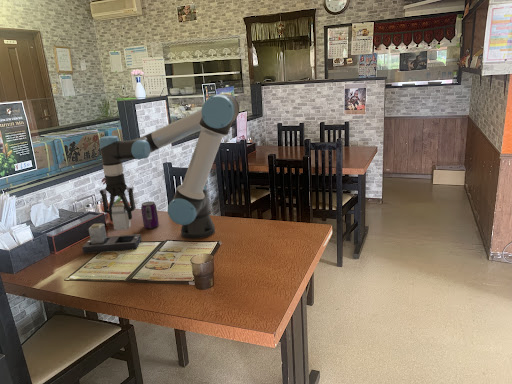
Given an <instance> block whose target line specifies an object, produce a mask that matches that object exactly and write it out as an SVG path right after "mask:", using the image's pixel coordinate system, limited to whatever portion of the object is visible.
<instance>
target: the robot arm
mask: <svg viewBox="0 0 512 384" xmlns="http://www.w3.org/2000/svg"><path fill="white" fill-rule="evenodd" d="M239 114H240V104H239V102H238V100H237V98H235V97H234V96H233V95H231V94H230V93H229V94H228V93H222V94H221V93H220V94H219V93H218V94H213V95H211V96H210V97H208V98H207V99H205V101H204V103H203V104H202V107H201V109H199V110H197V111H195V112H192V113H191V114H189V115H186V116H184V117H182V118H180V119H178V120H175V121H173V122H171V123H169V124H167V125H164V126H163V127H161V128H158V129H156V130H154V131H152V132H149V133H147V134H146V135H143V136H141V137H138V138H134V139H131V140H120V138H119V136H117V135H108V136H107V135H106V136H102V137H100V138H99V139H98V141H99V143H98V144H99V150H100V156H101V161H102V169H103V173H104V178H105V181H106V183H105V188H102V189H100V190H99V194H100V196H101V200H102V207H103V208H104V212H103V213H105V214H107V213H109V215H110V220H111V221H113V224H112V226H113V229H114V230H115V226H114V220H113V215H112V207H113V206H114V202H115V201H116V199H115V198H116V197H118V196H120V198H121V199H122V200H121V201H123V204H124V206H125V208H126V210H127V212H126V220H127V226H128V229H129V228H131V226H132V224H131V223H132V222H131V220H132V219H133V214H132V212H133V211H135V210H136V204H135V197H134V189H135V188H134V187H133V186H127V184H126V180H125V174H124V167H123V160H143V159H147V158H149V156H150V155H151V153H153V152H155V151H157V150H160V149H161V148H164V147H166V146H169V145H171V144H172V143H175V142H177V141H180V140H181V139H183V138H186V137H188V136H190V135H193V134H195V133H198V132H200V133H199V136H198V138H197V141H196V144H195V147H194V150H193V153H192V156H191V159H190V161H189V164H188V167H187V170H186V173H185V175H184V179H183V182H182V184H180V185H178V186H177V188H176V190H175V193H174V196H173V199H172V200H171V201H169V203H168V206H167V214H168V216H169V218H170V220H171V221H172V222H173V223H175V224H177V225H181V230H180V232H181V234H180V235H181V237H183V238H185V239H188V240H189V239H190V240H199V239H203V238H208V237H210V236H212V235H213V234H215V232H216V229H215V228H216V227H215V223H214V222H213V219H212V218H211V216H210V209H209V199H208V188H207V185H206V183H207V181H208V178H209V175H210V172H211V169H212V167H213V164H214V162H215V159H216V156H217V153H218V151H219V148H220V145H221V143H222V140H223V138H224V137H227V136H228V135H229V132H230V130H231V128H232V125H233V122H234V121H235V120H236V119H237V118H238V116H239ZM125 192H127V193H128V198H129V199H128V198H127V197H126V193H125ZM107 193H109V202H108V194H107ZM128 200H129V201H128ZM128 202H129V203H130V205H129V203H128ZM108 203H110V205H109V208H108Z"/></svg>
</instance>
